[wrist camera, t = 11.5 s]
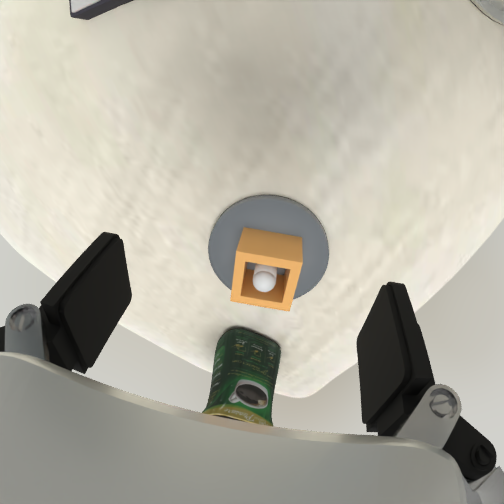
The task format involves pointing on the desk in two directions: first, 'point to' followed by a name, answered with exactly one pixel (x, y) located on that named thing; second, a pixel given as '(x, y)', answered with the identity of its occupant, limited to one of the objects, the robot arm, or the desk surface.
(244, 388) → the coffee jar
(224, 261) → the post stand
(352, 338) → the desk surface
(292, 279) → the collar
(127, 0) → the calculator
